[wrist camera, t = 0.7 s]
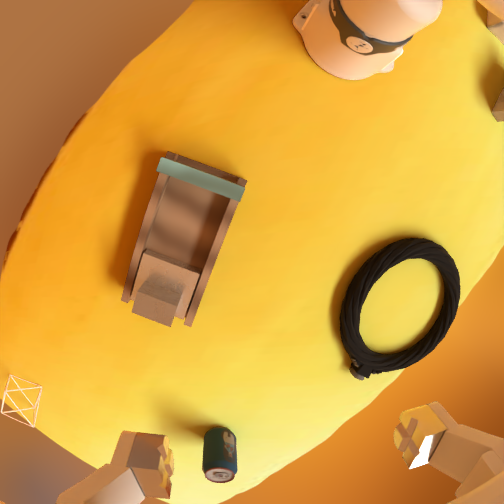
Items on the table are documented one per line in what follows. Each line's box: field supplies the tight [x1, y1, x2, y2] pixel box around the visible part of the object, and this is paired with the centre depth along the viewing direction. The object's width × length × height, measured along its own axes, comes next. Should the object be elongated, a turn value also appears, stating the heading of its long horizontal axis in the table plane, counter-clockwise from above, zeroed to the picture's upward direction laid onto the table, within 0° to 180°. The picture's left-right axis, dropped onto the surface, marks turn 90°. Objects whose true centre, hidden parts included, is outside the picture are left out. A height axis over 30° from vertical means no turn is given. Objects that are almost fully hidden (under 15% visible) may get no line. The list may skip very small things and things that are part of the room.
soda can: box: [202, 427, 237, 483], centre depth 53 cm, size 7×7×12 cm
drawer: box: [121, 152, 247, 327], centre depth 45 cm, size 24×12×6 cm, turn 158°
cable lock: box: [340, 238, 460, 380], centre depth 52 cm, size 28×4×30 cm
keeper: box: [131, 249, 201, 327], centre depth 44 cm, size 8×9×7 cm
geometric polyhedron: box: [1, 375, 42, 427], centre depth 50 cm, size 12×11×9 cm
